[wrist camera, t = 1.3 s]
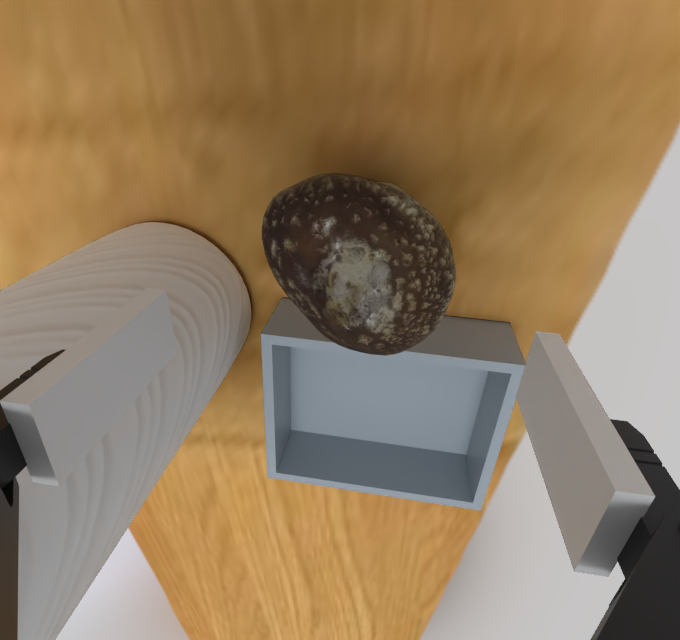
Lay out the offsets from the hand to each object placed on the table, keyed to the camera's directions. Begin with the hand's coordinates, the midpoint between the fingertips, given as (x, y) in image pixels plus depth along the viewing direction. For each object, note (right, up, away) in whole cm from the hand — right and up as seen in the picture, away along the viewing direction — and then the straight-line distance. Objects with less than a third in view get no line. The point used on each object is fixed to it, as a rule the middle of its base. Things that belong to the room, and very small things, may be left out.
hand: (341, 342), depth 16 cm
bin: (+4, -5, +24) cm, 25 cm away
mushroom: (+3, +9, +16) cm, 19 cm away
